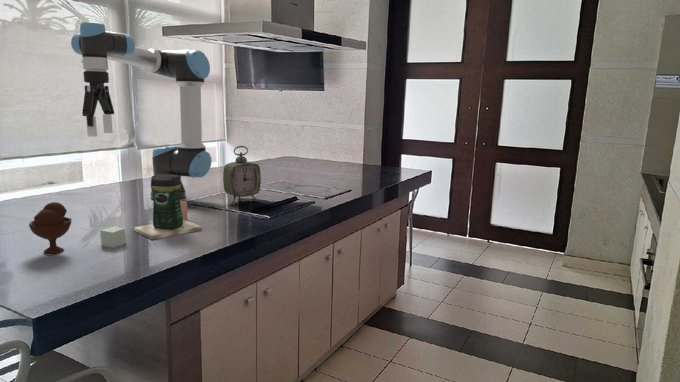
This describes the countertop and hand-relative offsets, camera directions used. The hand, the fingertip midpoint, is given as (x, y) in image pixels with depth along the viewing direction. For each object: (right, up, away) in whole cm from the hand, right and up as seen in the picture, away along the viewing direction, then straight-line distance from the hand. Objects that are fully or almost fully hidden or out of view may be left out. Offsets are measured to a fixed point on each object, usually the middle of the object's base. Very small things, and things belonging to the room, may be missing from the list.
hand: (100, 134), depth 168 cm
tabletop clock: (+39, -24, +49) cm, 67 cm away
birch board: (+22, -33, +4) cm, 40 cm away
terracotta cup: (+19, -30, +18) cm, 40 cm away
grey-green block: (+10, -36, -13) cm, 40 cm away
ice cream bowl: (-4, -38, -21) cm, 43 cm away
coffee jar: (+22, -32, +4) cm, 39 cm away
